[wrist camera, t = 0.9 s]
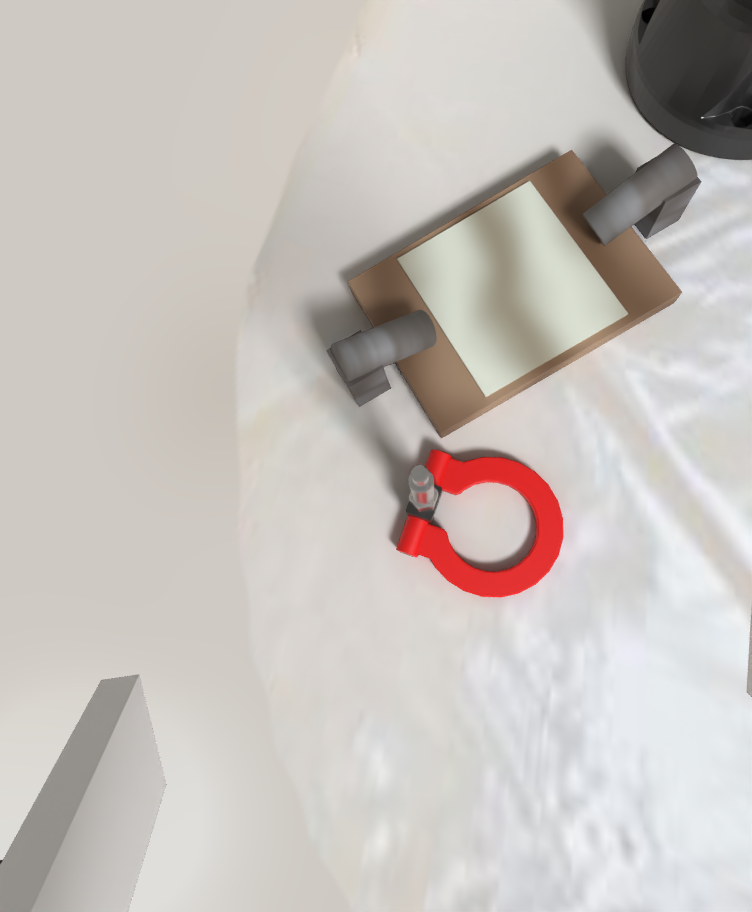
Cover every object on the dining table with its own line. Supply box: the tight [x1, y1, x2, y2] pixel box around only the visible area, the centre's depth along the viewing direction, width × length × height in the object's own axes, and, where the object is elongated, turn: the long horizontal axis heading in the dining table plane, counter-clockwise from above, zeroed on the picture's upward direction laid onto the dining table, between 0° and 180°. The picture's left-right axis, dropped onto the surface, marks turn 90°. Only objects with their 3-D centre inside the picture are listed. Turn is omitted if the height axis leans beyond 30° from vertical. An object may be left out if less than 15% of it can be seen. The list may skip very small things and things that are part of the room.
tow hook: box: [396, 450, 563, 597], centre depth 32 cm, size 8×13×9 cm
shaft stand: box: [326, 144, 701, 438], centre depth 38 cm, size 24×12×6 cm, turn 120°
